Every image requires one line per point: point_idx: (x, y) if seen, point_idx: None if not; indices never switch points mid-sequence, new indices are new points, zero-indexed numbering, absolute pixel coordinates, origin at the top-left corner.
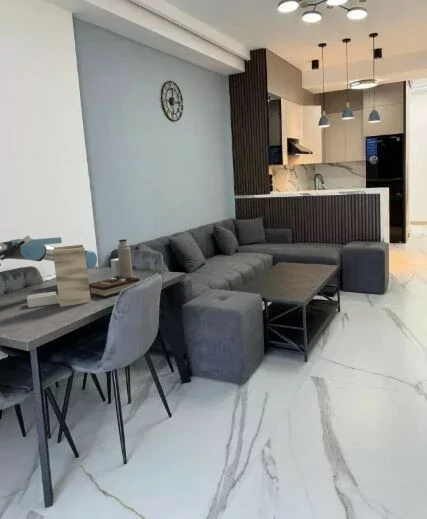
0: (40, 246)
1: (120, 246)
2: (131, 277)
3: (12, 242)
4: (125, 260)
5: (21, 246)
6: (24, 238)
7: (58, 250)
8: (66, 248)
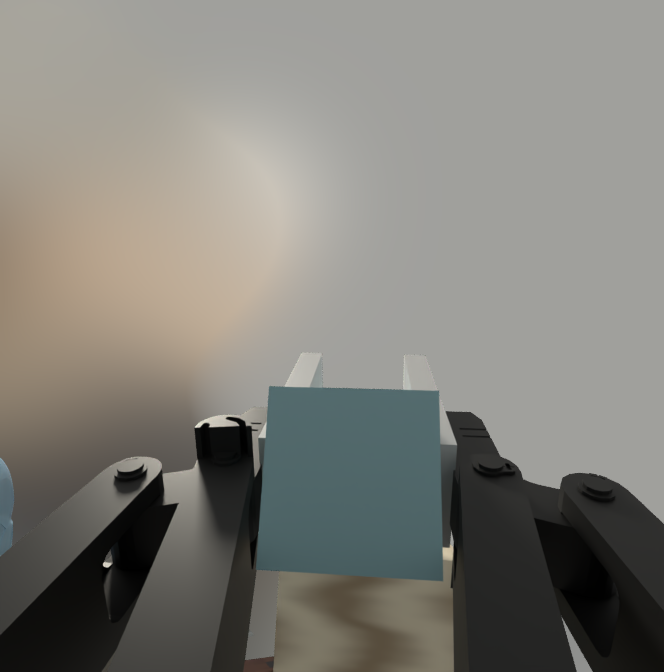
0: (3, 541)
1: None
2: (250, 660)
3: (437, 421)
4: None
5: (448, 531)
6: (432, 383)
7: (443, 549)
8: None
